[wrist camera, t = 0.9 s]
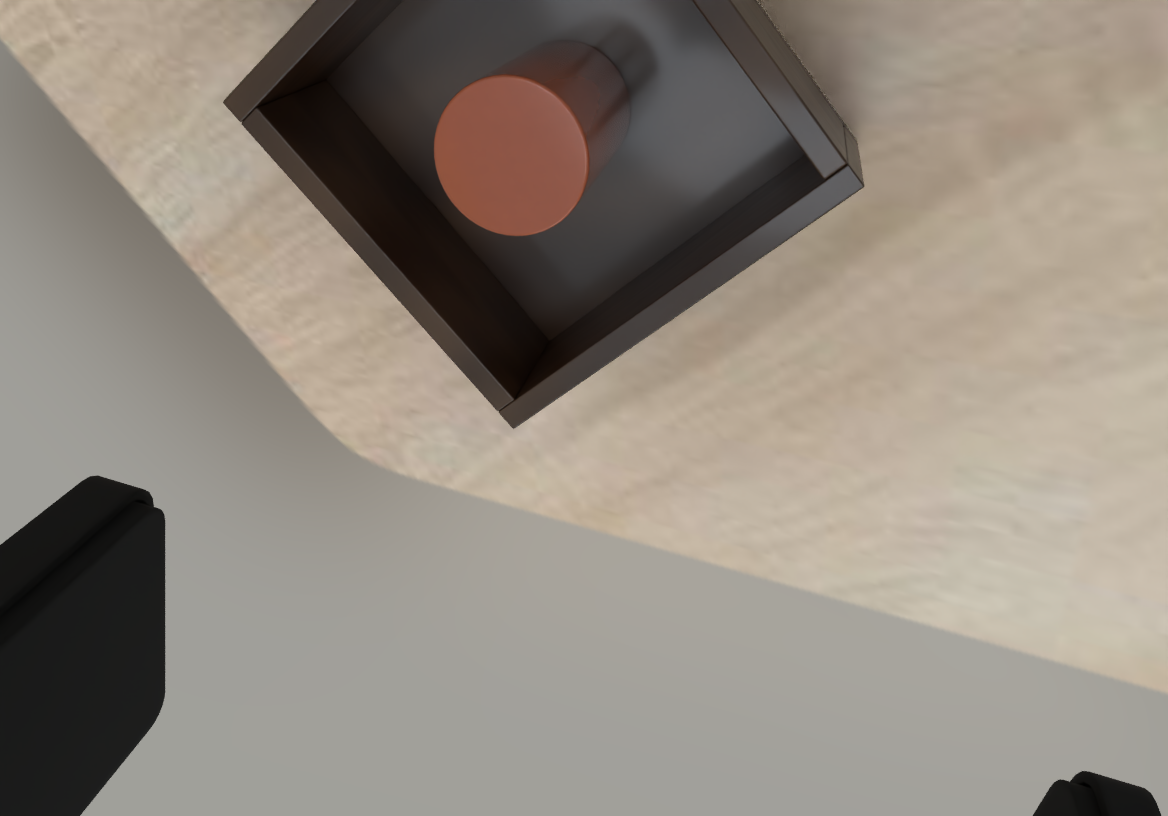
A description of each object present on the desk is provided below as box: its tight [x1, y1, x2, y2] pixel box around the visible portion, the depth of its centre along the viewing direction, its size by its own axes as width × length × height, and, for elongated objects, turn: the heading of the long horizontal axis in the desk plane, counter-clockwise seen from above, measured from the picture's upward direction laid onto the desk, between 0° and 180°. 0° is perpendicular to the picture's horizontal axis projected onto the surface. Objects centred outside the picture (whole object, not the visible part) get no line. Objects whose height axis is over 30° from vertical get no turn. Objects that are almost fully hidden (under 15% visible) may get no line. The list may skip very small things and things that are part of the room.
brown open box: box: [223, 0, 864, 429], centre depth 31 cm, size 14×14×6 cm
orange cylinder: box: [434, 40, 630, 236], centre depth 30 cm, size 4×4×7 cm
